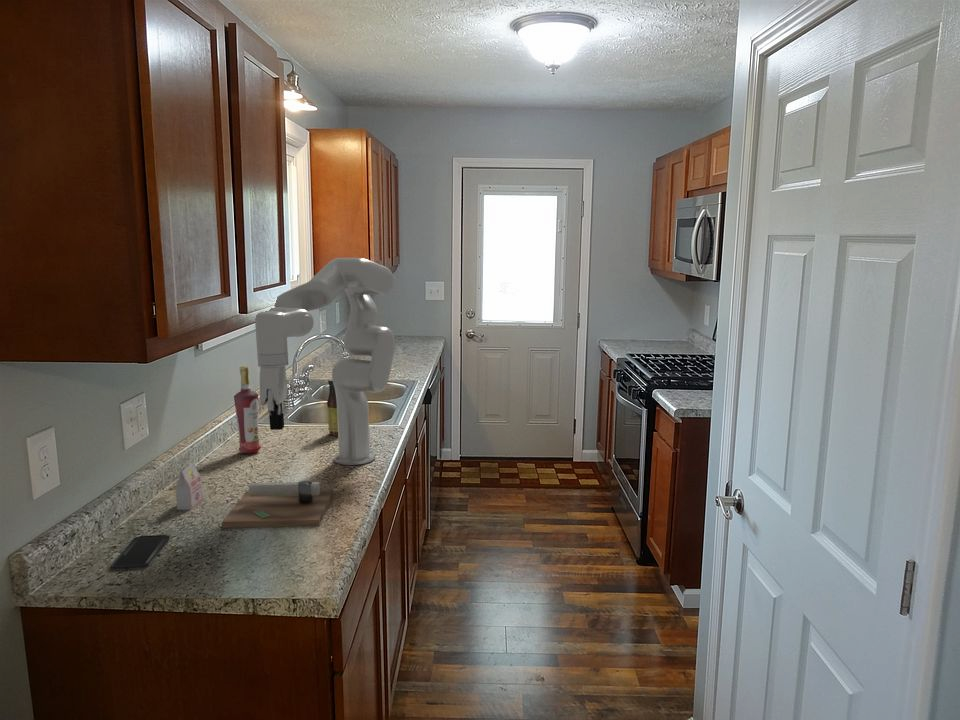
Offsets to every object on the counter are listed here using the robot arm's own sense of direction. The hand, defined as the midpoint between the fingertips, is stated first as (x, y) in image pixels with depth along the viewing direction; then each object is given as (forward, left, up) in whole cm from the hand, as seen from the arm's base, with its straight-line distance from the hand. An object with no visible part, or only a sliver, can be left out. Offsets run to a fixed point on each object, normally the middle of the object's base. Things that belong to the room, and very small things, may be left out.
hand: (277, 428), depth 178 cm
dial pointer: (+7, +3, -17) cm, 19 cm away
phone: (+31, -23, -20) cm, 43 cm away
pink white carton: (+3, -23, -19) cm, 30 cm away
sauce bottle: (-59, +5, -19) cm, 62 cm away
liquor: (-40, -20, -19) cm, 49 cm away
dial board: (+8, +2, -19) cm, 21 cm away
